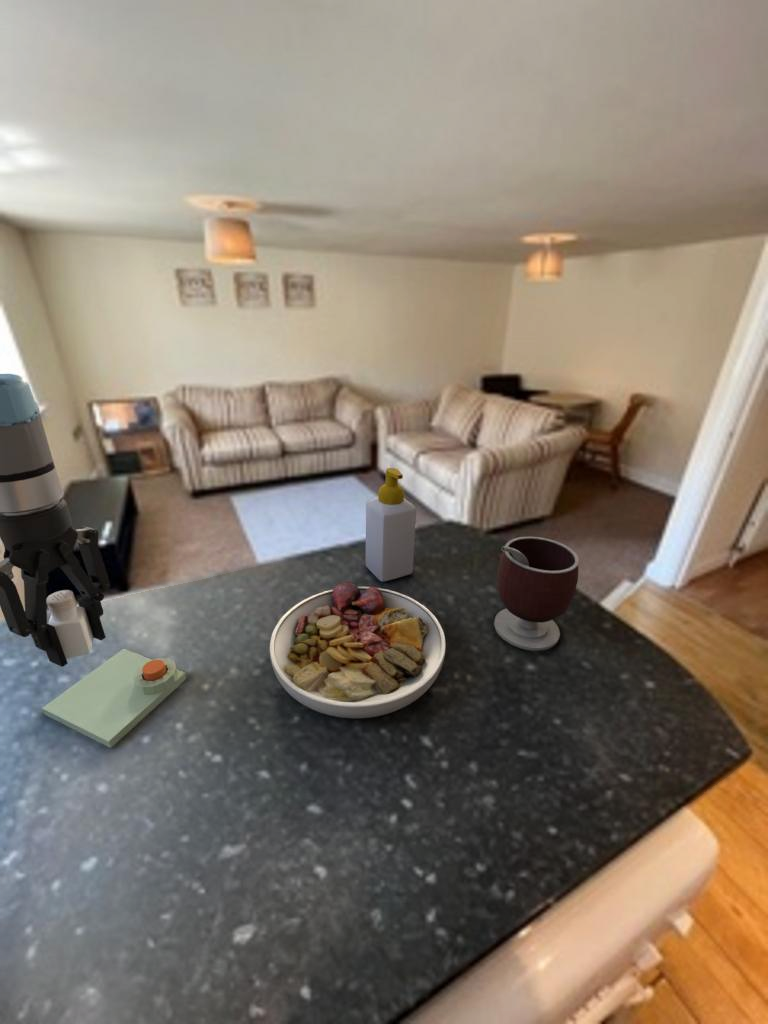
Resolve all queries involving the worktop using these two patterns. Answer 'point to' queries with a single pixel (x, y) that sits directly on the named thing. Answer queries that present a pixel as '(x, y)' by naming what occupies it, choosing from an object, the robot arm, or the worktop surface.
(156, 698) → the scale
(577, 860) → the worktop surface
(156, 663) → the button
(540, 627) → the mate gourd
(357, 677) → the bowl
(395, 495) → the soap bottle
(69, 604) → the pepper shaker
